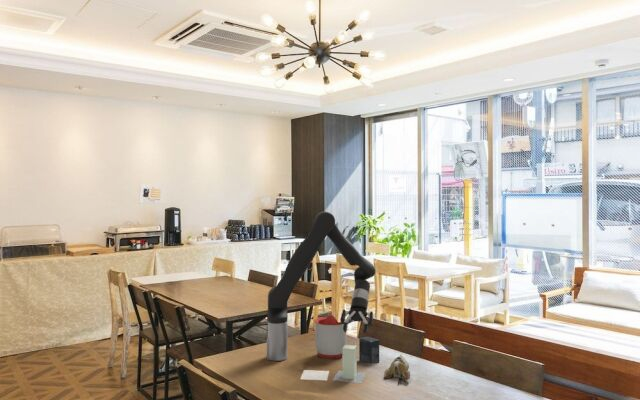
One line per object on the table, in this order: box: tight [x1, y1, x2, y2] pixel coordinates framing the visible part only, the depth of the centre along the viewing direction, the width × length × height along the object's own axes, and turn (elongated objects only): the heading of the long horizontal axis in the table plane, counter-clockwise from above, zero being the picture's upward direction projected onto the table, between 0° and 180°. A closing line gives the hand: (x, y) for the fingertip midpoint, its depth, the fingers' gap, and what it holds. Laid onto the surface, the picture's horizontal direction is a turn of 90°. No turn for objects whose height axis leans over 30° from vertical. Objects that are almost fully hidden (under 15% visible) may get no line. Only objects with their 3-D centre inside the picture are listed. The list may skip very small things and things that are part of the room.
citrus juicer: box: [314, 314, 347, 360], centre depth 235 cm, size 16×17×20 cm
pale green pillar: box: [341, 344, 358, 379], centre depth 204 cm, size 5×5×12 cm
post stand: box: [332, 370, 367, 384], centre depth 204 cm, size 12×12×6 cm
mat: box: [300, 369, 330, 382], centre depth 205 cm, size 11×11×1 cm
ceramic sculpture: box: [383, 354, 411, 381], centre depth 207 cm, size 11×9×15 cm
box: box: [358, 336, 380, 364], centre depth 226 cm, size 8×6×11 cm
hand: (354, 332), depth 213 cm, fingers open, 8 cm apart
